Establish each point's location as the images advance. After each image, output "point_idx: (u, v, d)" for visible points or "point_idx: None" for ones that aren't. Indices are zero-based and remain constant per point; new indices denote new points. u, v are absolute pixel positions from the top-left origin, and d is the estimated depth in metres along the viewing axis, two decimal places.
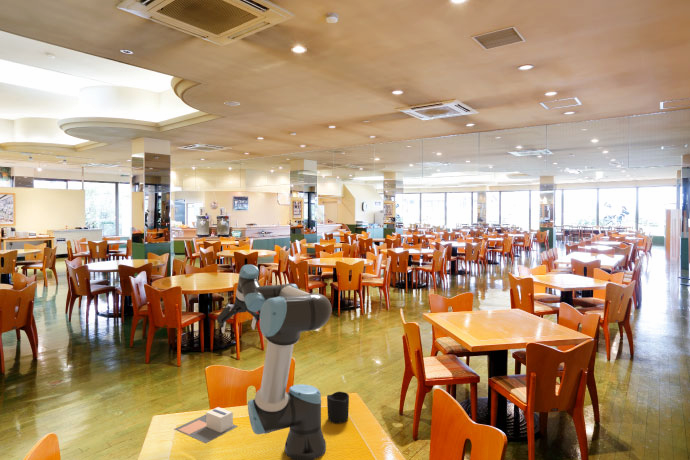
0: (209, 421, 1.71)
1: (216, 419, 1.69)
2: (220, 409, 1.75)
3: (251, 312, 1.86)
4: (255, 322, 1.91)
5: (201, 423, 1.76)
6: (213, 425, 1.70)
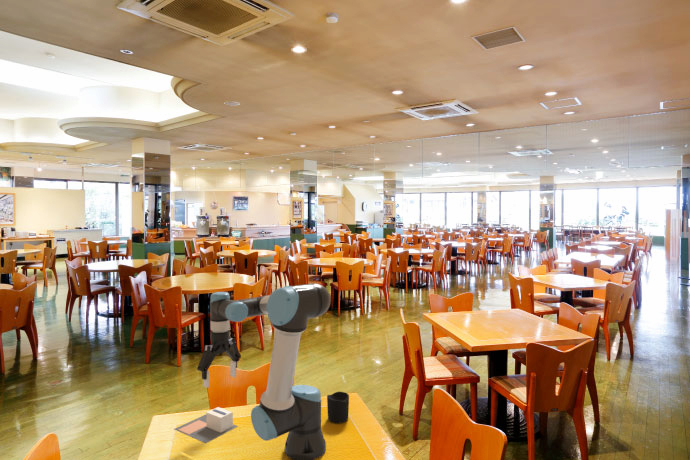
0: (209, 421, 1.71)
1: (216, 419, 1.69)
2: (220, 409, 1.75)
3: (230, 351, 1.75)
4: (235, 365, 1.78)
5: (201, 423, 1.76)
6: (213, 425, 1.70)
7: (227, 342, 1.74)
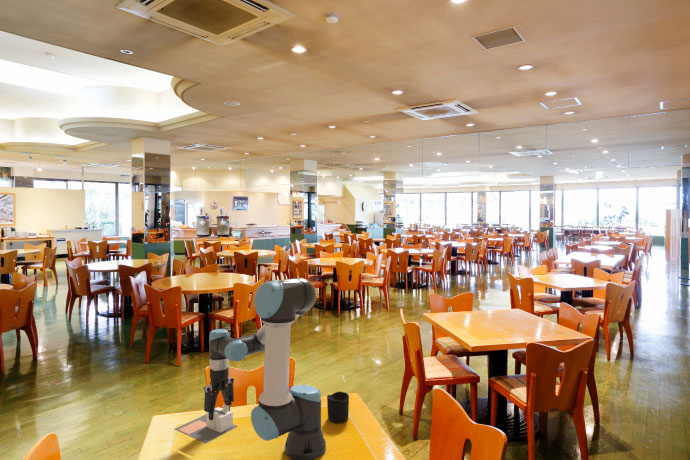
0: (209, 421, 1.71)
1: (216, 419, 1.69)
2: (220, 409, 1.75)
3: (226, 391, 1.74)
4: (228, 409, 1.75)
5: (201, 423, 1.76)
6: None
7: (226, 379, 1.74)
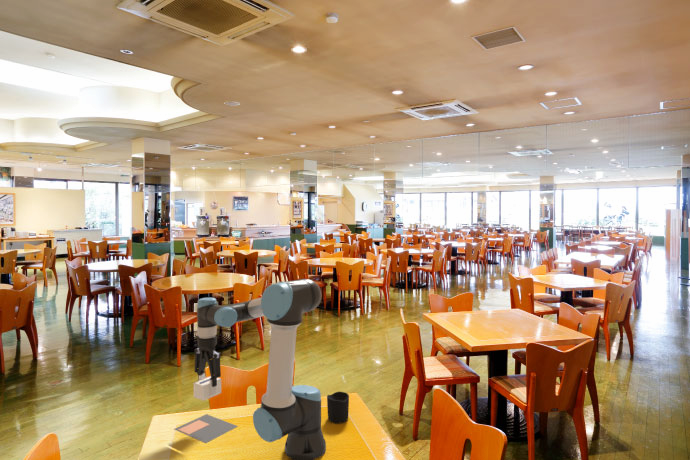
0: None
1: None
2: None
3: (209, 363, 1.69)
4: (210, 383, 1.69)
5: (201, 423, 1.76)
6: None
7: (209, 351, 1.69)
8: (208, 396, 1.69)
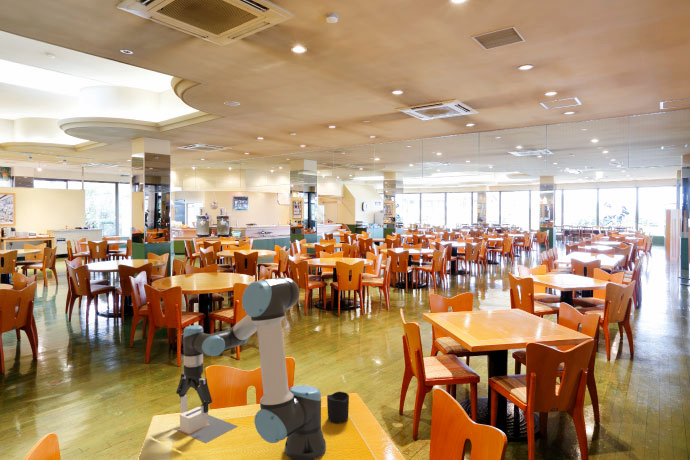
0: None
1: None
2: (200, 411, 1.73)
3: (197, 390, 1.69)
4: (201, 409, 1.67)
5: None
6: None
7: (195, 380, 1.69)
8: (194, 428, 1.69)
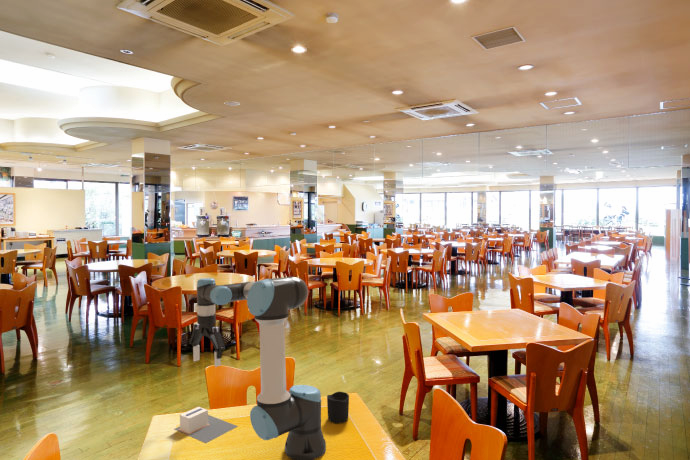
0: None
1: None
2: (200, 411, 1.73)
3: (210, 338, 1.78)
4: (215, 355, 1.77)
5: None
6: None
7: (209, 328, 1.79)
8: (194, 428, 1.69)
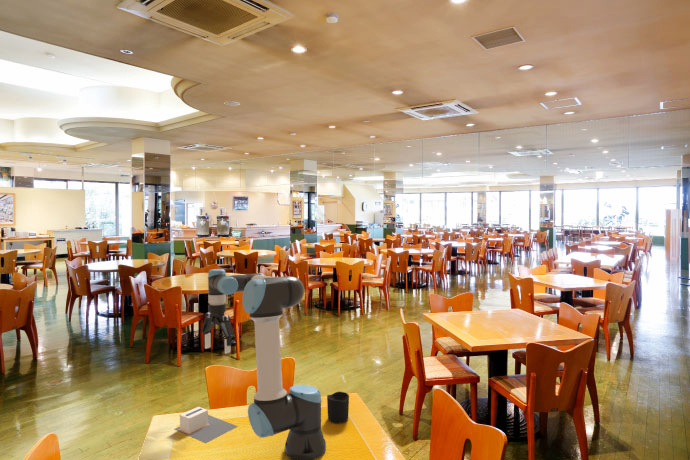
0: None
1: None
2: (200, 411, 1.73)
3: (221, 326, 1.87)
4: (225, 342, 1.85)
5: None
6: None
7: (219, 317, 1.87)
8: (194, 428, 1.69)
